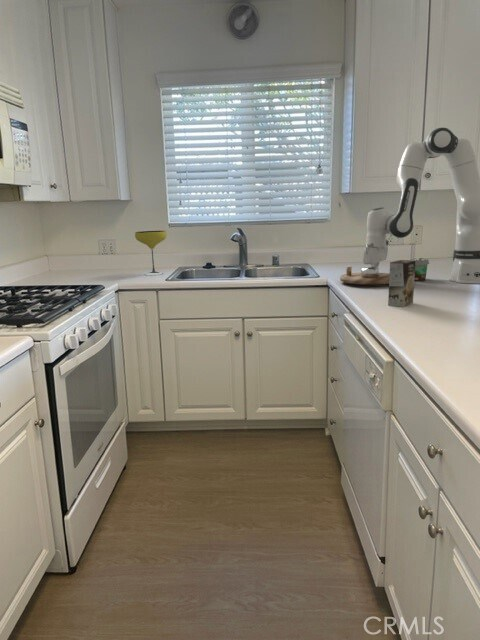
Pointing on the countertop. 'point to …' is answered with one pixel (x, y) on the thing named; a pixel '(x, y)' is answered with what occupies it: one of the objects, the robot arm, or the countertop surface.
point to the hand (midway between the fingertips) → (374, 271)
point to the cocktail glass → (151, 240)
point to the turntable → (357, 279)
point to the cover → (370, 272)
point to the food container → (421, 269)
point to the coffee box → (401, 283)
